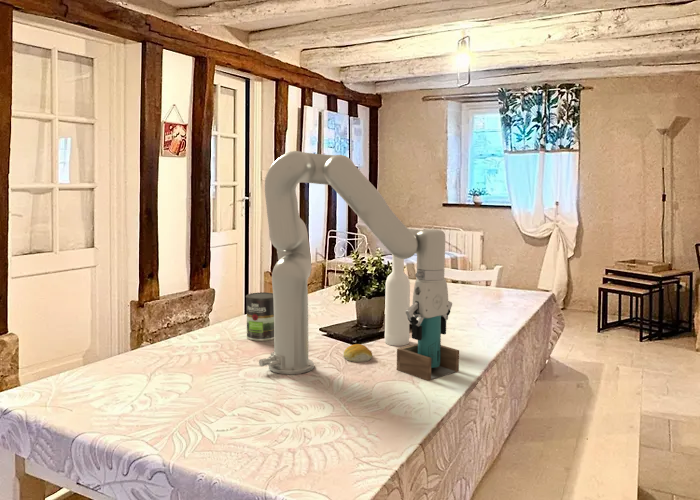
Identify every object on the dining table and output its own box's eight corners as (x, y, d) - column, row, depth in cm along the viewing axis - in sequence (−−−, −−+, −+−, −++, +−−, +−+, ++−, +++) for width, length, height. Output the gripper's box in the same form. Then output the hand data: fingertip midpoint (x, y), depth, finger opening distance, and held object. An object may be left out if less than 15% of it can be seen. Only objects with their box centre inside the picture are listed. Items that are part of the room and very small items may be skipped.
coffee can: (269, 342, 202) (269, 299, 200) (240, 339, 205) (240, 297, 203) (283, 334, 211) (282, 293, 210) (255, 331, 215) (255, 291, 213)
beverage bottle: (439, 374, 170) (441, 301, 168) (415, 372, 172) (416, 300, 169) (441, 366, 177) (443, 297, 174) (417, 365, 178) (419, 295, 175)
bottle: (380, 343, 201) (381, 250, 197) (390, 338, 207) (391, 248, 204) (403, 347, 197) (405, 252, 193) (413, 341, 204) (414, 249, 200)
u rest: (427, 380, 166) (428, 358, 165) (396, 369, 175) (397, 348, 174) (458, 371, 174) (459, 350, 173) (427, 361, 183) (427, 341, 182)
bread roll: (366, 353, 191) (367, 340, 191) (374, 361, 183) (375, 348, 182) (340, 354, 189) (340, 341, 189) (347, 363, 181) (347, 350, 180)
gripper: (418, 280, 162) (416, 344, 164) (462, 273, 173) (460, 334, 175) (397, 276, 168) (396, 338, 170) (441, 270, 179) (440, 328, 181)
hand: (429, 336), depth 173 cm, fingers open, 9 cm apart
